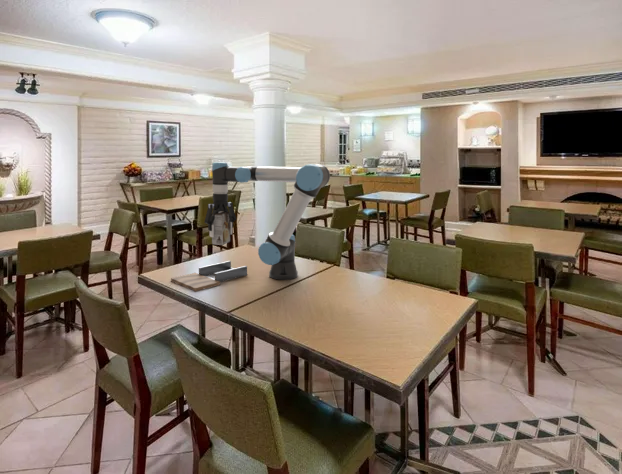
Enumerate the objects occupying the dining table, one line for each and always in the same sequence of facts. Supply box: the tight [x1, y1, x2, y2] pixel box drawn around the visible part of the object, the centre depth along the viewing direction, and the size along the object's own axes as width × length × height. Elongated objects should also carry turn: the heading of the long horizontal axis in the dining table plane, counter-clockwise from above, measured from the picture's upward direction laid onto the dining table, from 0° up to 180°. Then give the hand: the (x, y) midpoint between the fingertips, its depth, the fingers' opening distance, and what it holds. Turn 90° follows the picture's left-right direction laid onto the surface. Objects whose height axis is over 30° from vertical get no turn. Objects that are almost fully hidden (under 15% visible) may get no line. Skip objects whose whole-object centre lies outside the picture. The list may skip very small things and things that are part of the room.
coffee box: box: [211, 211, 231, 246], centre depth 213 cm, size 9×6×16 cm
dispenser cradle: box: [198, 260, 248, 283], centre depth 219 cm, size 15×20×5 cm
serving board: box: [170, 272, 221, 292], centre depth 206 cm, size 22×14×2 cm, turn 49°
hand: (221, 235), depth 214 cm, fingers closed on coffee box, 11 cm apart
